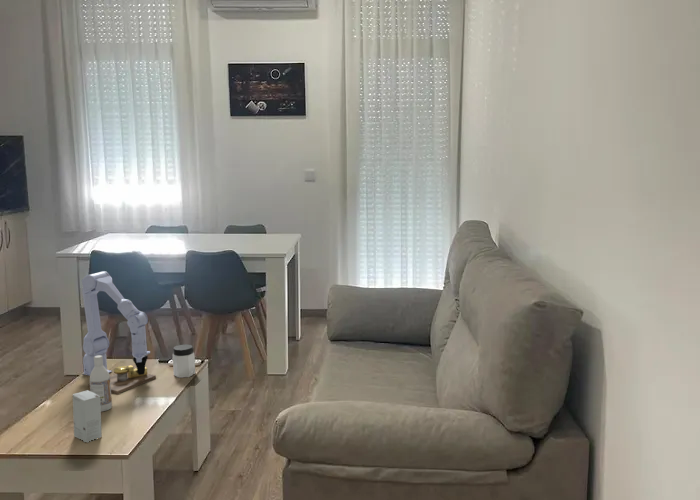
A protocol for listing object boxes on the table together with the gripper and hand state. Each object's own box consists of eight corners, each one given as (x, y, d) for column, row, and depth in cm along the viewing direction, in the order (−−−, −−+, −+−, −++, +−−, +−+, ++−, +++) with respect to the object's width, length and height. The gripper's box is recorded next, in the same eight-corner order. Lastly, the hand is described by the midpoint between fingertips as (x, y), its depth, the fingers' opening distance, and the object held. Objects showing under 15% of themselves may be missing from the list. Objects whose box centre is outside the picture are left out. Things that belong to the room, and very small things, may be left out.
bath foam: (113, 410, 241) (109, 357, 238) (92, 413, 238) (88, 360, 235) (111, 403, 247) (107, 352, 244) (91, 407, 244) (87, 355, 241)
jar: (198, 374, 277) (196, 347, 275) (180, 379, 272) (178, 351, 270) (188, 369, 284) (187, 342, 282) (171, 374, 279) (169, 346, 277)
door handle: (117, 382, 265) (116, 371, 264) (112, 378, 270) (111, 367, 269) (148, 375, 273) (148, 365, 272) (143, 371, 277) (143, 361, 277)
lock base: (88, 386, 265) (87, 376, 264) (127, 372, 282) (126, 362, 281) (117, 394, 257) (117, 383, 256) (155, 378, 274) (155, 368, 273)
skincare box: (73, 436, 219) (70, 394, 216) (90, 430, 223) (87, 389, 221) (86, 443, 213) (83, 400, 211) (103, 437, 218) (100, 394, 215)
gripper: (148, 346, 263) (150, 378, 265) (150, 336, 277) (152, 367, 279) (130, 347, 262) (132, 380, 264) (132, 338, 276) (135, 369, 278)
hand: (141, 374), depth 271 cm, fingers closed, pressing on door handle
